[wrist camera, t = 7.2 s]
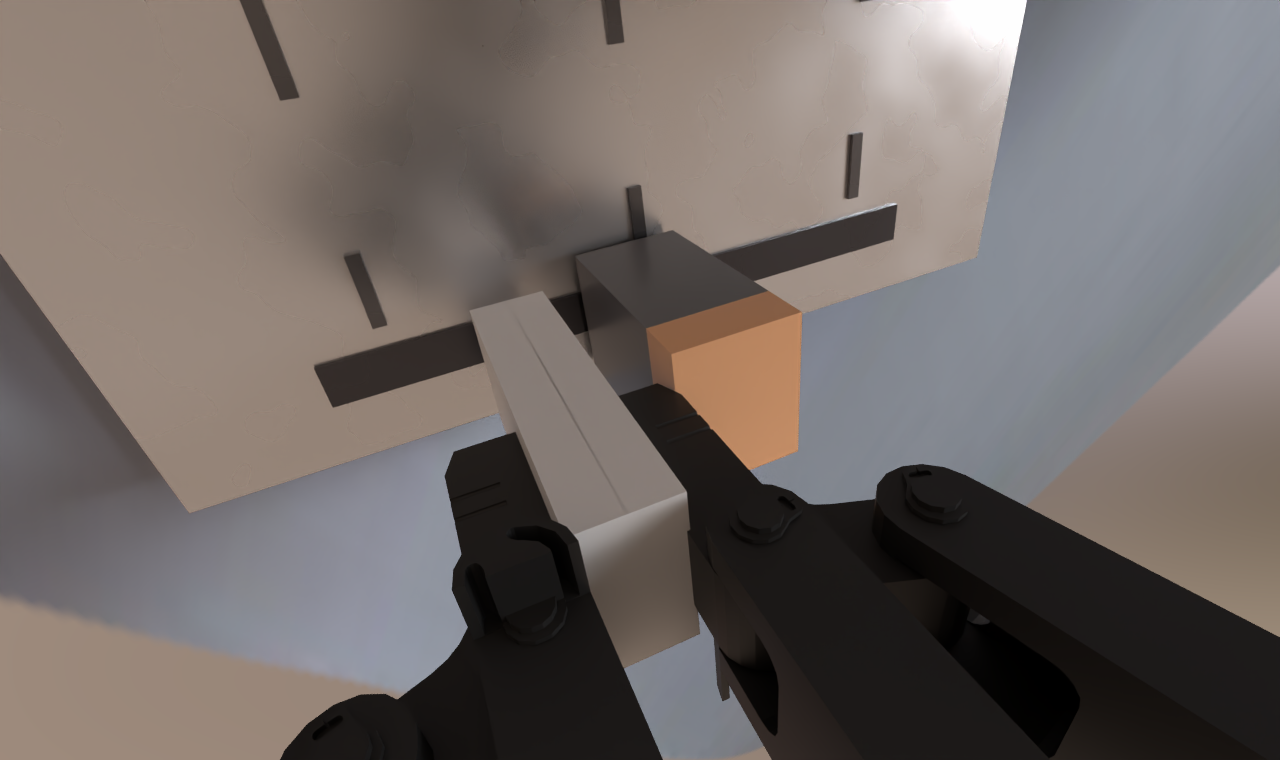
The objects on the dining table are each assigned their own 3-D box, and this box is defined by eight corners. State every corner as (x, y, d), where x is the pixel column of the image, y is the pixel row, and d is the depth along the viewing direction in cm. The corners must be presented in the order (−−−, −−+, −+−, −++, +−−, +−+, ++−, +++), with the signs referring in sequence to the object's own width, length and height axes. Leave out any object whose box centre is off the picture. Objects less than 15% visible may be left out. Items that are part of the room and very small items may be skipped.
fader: (574, 256, 13) (671, 354, 9) (672, 229, 14) (801, 311, 10) (595, 370, 15) (686, 494, 11) (682, 342, 16) (798, 451, 12)
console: (-244, -220, 8) (-395, -282, 7) (1000, -261, 14) (1088, -299, 12) (205, 460, 15) (188, 516, 13) (927, 238, 21) (979, 258, 19)
